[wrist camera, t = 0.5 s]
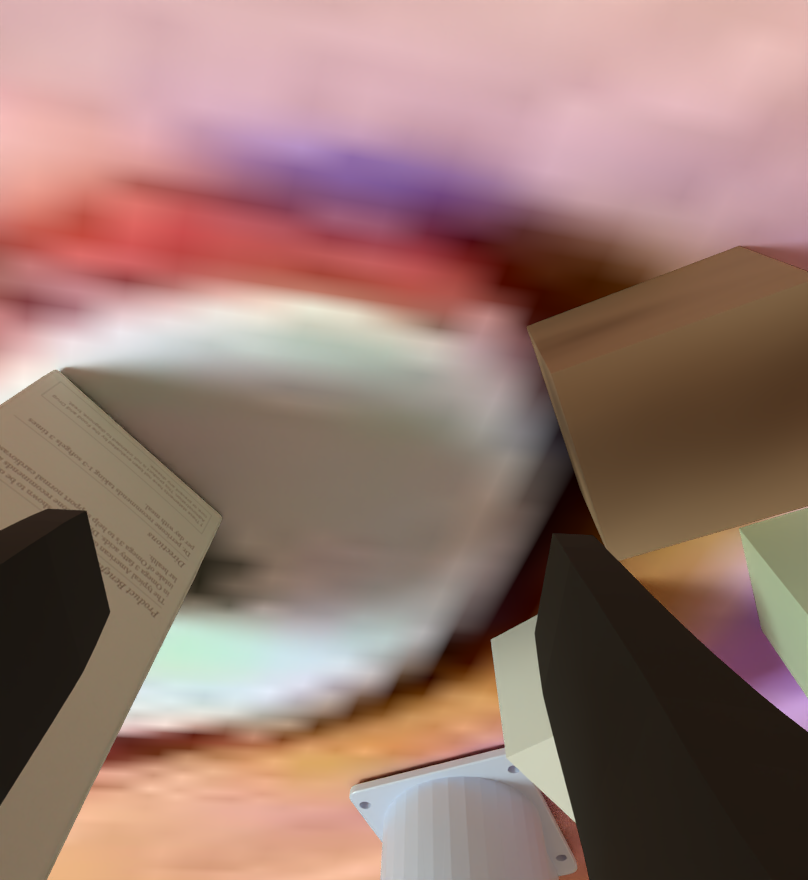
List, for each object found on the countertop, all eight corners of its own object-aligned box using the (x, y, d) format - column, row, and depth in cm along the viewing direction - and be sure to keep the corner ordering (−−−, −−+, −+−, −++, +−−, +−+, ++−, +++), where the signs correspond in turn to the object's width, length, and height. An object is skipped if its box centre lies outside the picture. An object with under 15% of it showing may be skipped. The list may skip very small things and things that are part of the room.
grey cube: (669, 657, 24) (727, 780, 19) (559, 709, 25) (588, 835, 21) (605, 577, 22) (651, 691, 17) (490, 638, 23) (506, 757, 19)
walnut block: (765, 427, 19) (843, 495, 16) (578, 486, 20) (612, 562, 17) (735, 244, 17) (821, 276, 13) (525, 324, 18) (550, 373, 14)
